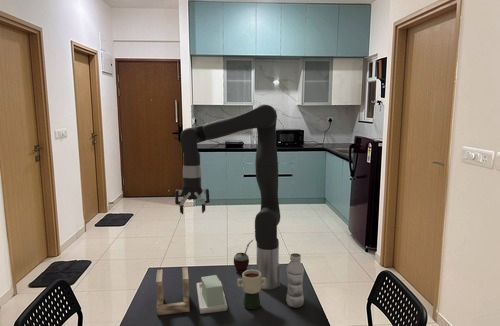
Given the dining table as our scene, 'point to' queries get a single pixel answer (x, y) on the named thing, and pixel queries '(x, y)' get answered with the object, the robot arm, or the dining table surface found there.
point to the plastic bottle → (295, 281)
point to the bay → (173, 306)
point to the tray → (210, 309)
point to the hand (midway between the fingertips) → (192, 213)
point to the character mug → (251, 288)
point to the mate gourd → (241, 261)
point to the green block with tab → (212, 290)
